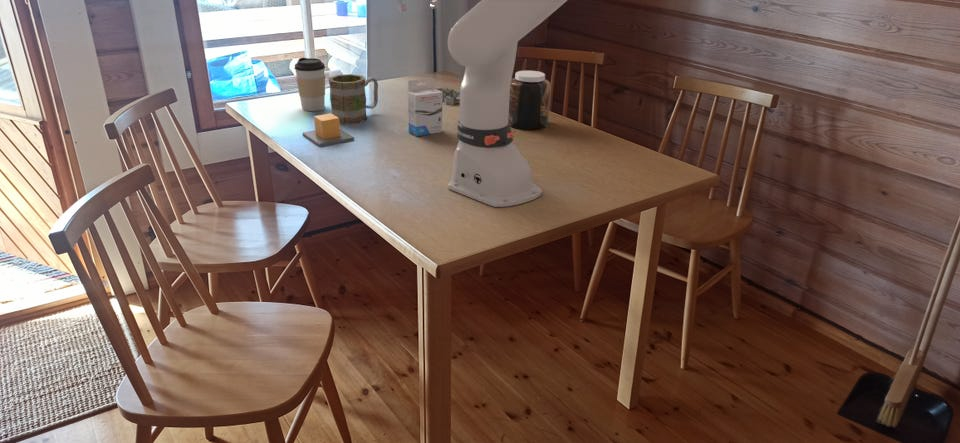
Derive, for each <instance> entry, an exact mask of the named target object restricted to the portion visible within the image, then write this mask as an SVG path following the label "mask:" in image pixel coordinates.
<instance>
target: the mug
mask: <svg viewBox="0 0 960 443" xmlns="http://www.w3.org/2000/svg"><path fill="white" fill-rule="evenodd" d="M371 81H373V102H372V104H371V105H368V104H367V97H366V96H367V95H366V87H367V86H368V85H369V83H370V82H371ZM328 83H329V84H328V85H329V101H330V106H331V108H330V109H331V114H333V115H335V116H337V117H338V118H339V122H340V124H342V125H352V124H353V125H354V124H360V122H361V123H363V122H365V121H366V120H368V116H367V109H374V108H376V107H377V105H378V103H379V102H378V100H379V99H378V96H379V94H378V93H379V84H378V80H377V78H375V77H372V76H369V77H367V78H365V76H364V75H360V74H353V73H352V74H351V73H349V74H336V75H333V76H329V77H328Z"/></svg>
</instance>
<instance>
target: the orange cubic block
mask: <svg viewBox="0 0 960 443" xmlns="http://www.w3.org/2000/svg"><path fill="white" fill-rule="evenodd" d="M313 117H314V119H313V121H314V131H315V132H316V135H318V136H319V137H321V138H323V139H326V138H331V137H337V136H340V129H341V125H340V124H341V123H340V122H339V118H338V117H337V116H335V115H333V114H332V113H325V114H319V115H314V116H313Z"/></svg>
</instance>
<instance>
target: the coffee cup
mask: <svg viewBox="0 0 960 443" xmlns="http://www.w3.org/2000/svg"><path fill="white" fill-rule="evenodd" d="M325 69H326V66H325V63H324V62H322V60H321V59H319V58H314V57H313V58H312V57H309V58H308V57H300V58H298V60H297V63H295V64H294V70H295V75H296V76H295V78H296V83H297V89H298V93H299V94H298V95H299V98H300V99H299V100H300V103H301V109H302V111H306V112H316V111H322V110H324V109H325V106H326V105H325V97H326V96H325V95H326V74H325Z"/></svg>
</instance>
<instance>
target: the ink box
mask: <svg viewBox="0 0 960 443" xmlns="http://www.w3.org/2000/svg"><path fill="white" fill-rule="evenodd" d="M407 82H408V83H407V85H408V86H407V87H408V88H407V89H408V91H407V112H408V113H407V116H408V118H407V120H408V133H410V134H412V135H414V137H415V136H416V137H419V136H420V137H421V136H426V135H427V136H428V135H432V134H433V135H434V134H438V133H439V134H440V133H442V132H443V102H442V91H439V90H437V89H435V88H436V87H434V86H435V78H434V77H425V78H417V79H409V80H408V81H407ZM420 83H425V84H420ZM418 84H419V85H418Z"/></svg>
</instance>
